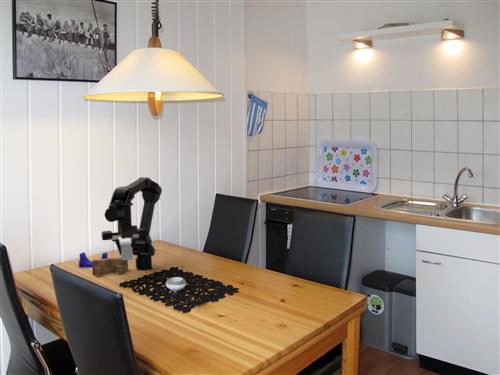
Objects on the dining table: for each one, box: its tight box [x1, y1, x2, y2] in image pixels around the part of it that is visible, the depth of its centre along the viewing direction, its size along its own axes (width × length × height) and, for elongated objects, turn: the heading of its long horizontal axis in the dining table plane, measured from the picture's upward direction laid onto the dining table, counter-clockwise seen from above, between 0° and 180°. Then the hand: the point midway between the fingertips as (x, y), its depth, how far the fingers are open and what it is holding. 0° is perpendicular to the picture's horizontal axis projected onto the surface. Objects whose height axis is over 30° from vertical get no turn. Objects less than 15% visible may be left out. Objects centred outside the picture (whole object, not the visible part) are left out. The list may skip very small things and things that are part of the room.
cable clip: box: [78, 252, 109, 269], centre depth 237 cm, size 12×4×6 cm, turn 87°
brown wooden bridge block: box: [91, 256, 129, 278], centre depth 225 cm, size 15×6×6 cm, turn 109°
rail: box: [119, 241, 134, 261], centre depth 217 cm, size 4×12×5 cm, turn 20°
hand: (125, 254), depth 217 cm, fingers closed on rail, 4 cm apart
